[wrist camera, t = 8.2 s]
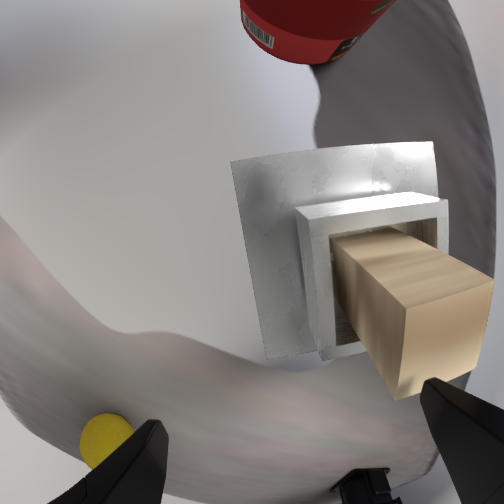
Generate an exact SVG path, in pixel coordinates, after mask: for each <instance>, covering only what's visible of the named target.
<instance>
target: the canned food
mask: <svg viewBox="0 0 504 504" xmlns="http://www.w3.org/2000/svg"><path fill="white" fill-rule="evenodd" d="M395 1H396V0H240V8H241V20H242V23H243V26H244V29H245V30H246V32H247V33H248V35H249V36H250V38H251V39H252V40H253V41H254V42H255V43H256V44H257V45H258V46H259V47H260V48H262V49H263V50H264V51H266V52H267V53H269V54H271V55H272V56H274V57H276V58H279V59H281V60H284V61H288V62H292V63H296V64H307V65H311V64H321V63H325V62H329V61H332V60H335V59H337V58H339V57H341V56H343V55H344V54H345V53H346V52H348V51H349V50H350V49H351V48H352V46H353V45H354V44H355V43H356V42H357V41H358V40H359V39H360V38H361V37H362V35H363V34H364V33H365V32H366V31H367V30H368V29H369V28H370V27H371V26H372V25H373V24H374V23H375V22H376V20H377V19H378V18H379V17H380V16H381V15H382V14H383V13H384V12H385V11H386V10H387V9H388V8H389V7H390V6H391V5H392V4H393V3H394V2H395Z"/></svg>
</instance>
